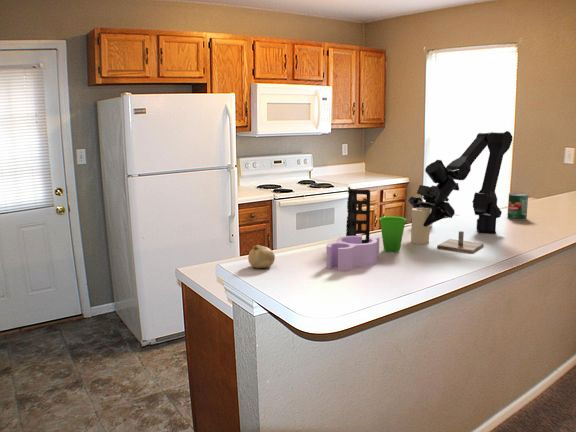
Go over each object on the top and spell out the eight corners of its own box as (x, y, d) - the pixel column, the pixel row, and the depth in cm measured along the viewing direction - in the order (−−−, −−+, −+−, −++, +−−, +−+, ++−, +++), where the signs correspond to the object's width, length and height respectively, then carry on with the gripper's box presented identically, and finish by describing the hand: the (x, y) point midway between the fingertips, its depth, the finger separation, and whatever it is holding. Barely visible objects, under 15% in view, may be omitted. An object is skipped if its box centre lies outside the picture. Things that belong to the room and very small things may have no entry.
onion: (261, 262, 161) (260, 240, 159) (280, 266, 156) (280, 243, 154) (243, 267, 154) (242, 245, 153) (262, 272, 149) (262, 249, 148)
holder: (375, 244, 182) (377, 188, 179) (363, 248, 177) (364, 190, 173) (350, 239, 190) (350, 186, 186) (338, 243, 184) (338, 188, 181)
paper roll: (420, 239, 189) (421, 207, 187) (432, 242, 184) (433, 209, 182) (407, 241, 187) (408, 208, 184) (419, 244, 181) (420, 211, 179)
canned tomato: (527, 218, 228) (529, 193, 226) (525, 220, 222) (527, 195, 220) (508, 216, 233) (510, 192, 231) (505, 219, 226) (507, 194, 224)
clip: (350, 274, 147) (351, 251, 146) (316, 266, 155) (316, 244, 154) (385, 260, 162) (386, 238, 161) (352, 253, 170) (353, 233, 169)
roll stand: (449, 241, 185) (450, 226, 184) (483, 246, 178) (484, 230, 177) (437, 248, 176) (437, 232, 175) (472, 253, 169) (473, 237, 168)
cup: (406, 248, 176) (407, 217, 174) (403, 255, 167) (404, 222, 165) (380, 246, 179) (381, 215, 177) (376, 253, 170) (376, 220, 168)
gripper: (412, 174, 191) (388, 206, 188) (450, 179, 175) (424, 214, 172) (427, 194, 196) (404, 225, 193) (465, 200, 180) (441, 234, 177)
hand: (417, 224), depth 183 cm, fingers closed on paper roll, 6 cm apart
